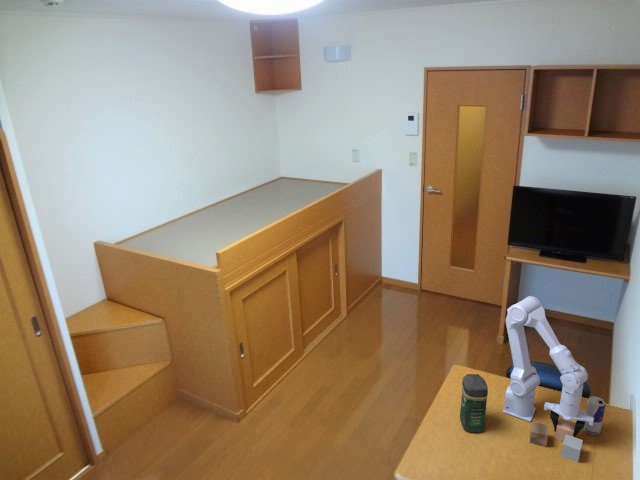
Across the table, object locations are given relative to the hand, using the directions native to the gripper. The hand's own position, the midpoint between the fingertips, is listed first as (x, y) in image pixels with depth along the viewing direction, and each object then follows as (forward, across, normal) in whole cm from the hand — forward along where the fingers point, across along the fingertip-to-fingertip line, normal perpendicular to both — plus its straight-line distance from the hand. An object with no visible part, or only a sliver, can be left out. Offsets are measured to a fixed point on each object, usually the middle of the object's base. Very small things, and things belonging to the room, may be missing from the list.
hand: (565, 433), depth 162 cm
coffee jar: (+2, -28, -10) cm, 30 cm away
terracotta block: (+1, 0, 0) cm, 1 cm away
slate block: (+2, +3, -7) cm, 8 cm away
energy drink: (+2, +7, +8) cm, 11 cm away
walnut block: (+2, -7, -6) cm, 9 cm away
